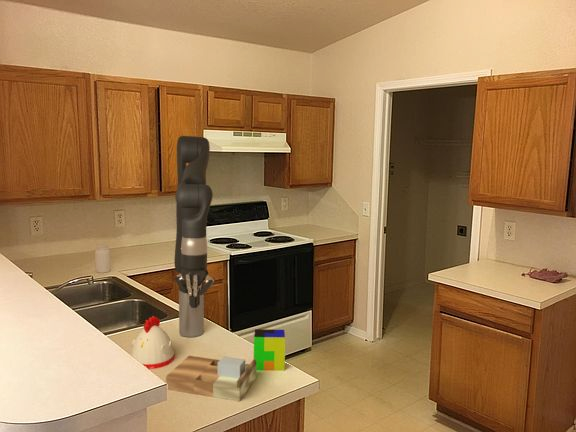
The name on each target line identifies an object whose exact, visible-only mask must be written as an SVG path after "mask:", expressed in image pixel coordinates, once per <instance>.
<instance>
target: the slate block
mask: <svg viewBox="0 0 576 432" xmlns="http://www.w3.org/2000/svg"><path fill="white" fill-rule="evenodd" d="M219 360H220V361H219V362H218V375H219V376H226V377H232V378H240V376H241V375H242V374H243V373H244V371H245V364H246V359H244V358H240V357H239V358H238V357H232V356H230V357H229V356H225V355H224V356H222V357H221V358H220V359H219Z"/></svg>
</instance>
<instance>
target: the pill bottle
mask: <svg viewBox="0 0 576 432" xmlns="http://www.w3.org/2000/svg"><path fill="white" fill-rule="evenodd" d="M96 248H97V249H96V250H95V251H94V262H95V263H94V264H95V272H96V273H99V274H101V273H102V274H105V273H109V272H111V270H112V269H111V266H112V265H111V251H110V249H108V244H105V243H101V244H97V246H96Z"/></svg>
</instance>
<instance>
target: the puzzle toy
mask: <svg viewBox="0 0 576 432" xmlns="http://www.w3.org/2000/svg"><path fill="white" fill-rule="evenodd" d="M253 335H254V337H253V360H254V359H257V360H256V371H273V372H274V371H277V372H279V371H282V372H283V371H285V363H286V361H285V360H286V334H285V329H269V328H268V329H261V328H259V329H256V328H255V329H254V334H253Z"/></svg>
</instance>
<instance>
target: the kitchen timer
mask: <svg viewBox="0 0 576 432" xmlns="http://www.w3.org/2000/svg"><path fill="white" fill-rule="evenodd" d="M160 324H161V319H159V317H156V316H155V315H152V316H151V317H149V318H148V319H145V324H143V325H142V327H143V329H142V330H141V331H140V332H139V334H138V335H137V337H136V338H133V340H132V343H131V347H132V350H131V353H130V357H131V356H133V357H134V358H135V359H136V360H138V361H139V362H140V363H142V364H143V365H144V366H146V367H147V368H148V369H147V370H155V369H159V368H163V367H167V366H168V365H170V364H172V362H174V359H175V351H174V347H173V340H171V338H170V336H169V335H168V333H167V332H166V331H165V330H164V329H163V328H162V327H160Z"/></svg>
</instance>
